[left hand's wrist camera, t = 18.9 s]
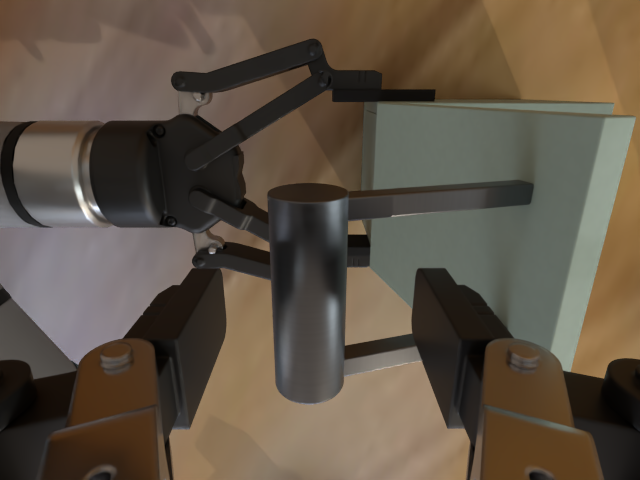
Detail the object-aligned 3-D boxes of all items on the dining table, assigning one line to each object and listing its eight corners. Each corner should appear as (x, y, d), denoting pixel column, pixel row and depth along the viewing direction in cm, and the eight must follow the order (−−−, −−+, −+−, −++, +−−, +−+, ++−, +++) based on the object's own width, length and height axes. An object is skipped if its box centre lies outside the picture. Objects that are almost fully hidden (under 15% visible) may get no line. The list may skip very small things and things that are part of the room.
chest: (523, 99, 34) (615, 102, 23) (504, 214, 37) (576, 262, 27) (364, 99, 34) (384, 102, 23) (359, 214, 37) (375, 262, 27)
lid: (637, 115, 11) (282, 122, 8) (558, 419, 14) (293, 492, 11) (395, 102, 23) (225, 103, 20) (385, 265, 26) (239, 283, 24)
